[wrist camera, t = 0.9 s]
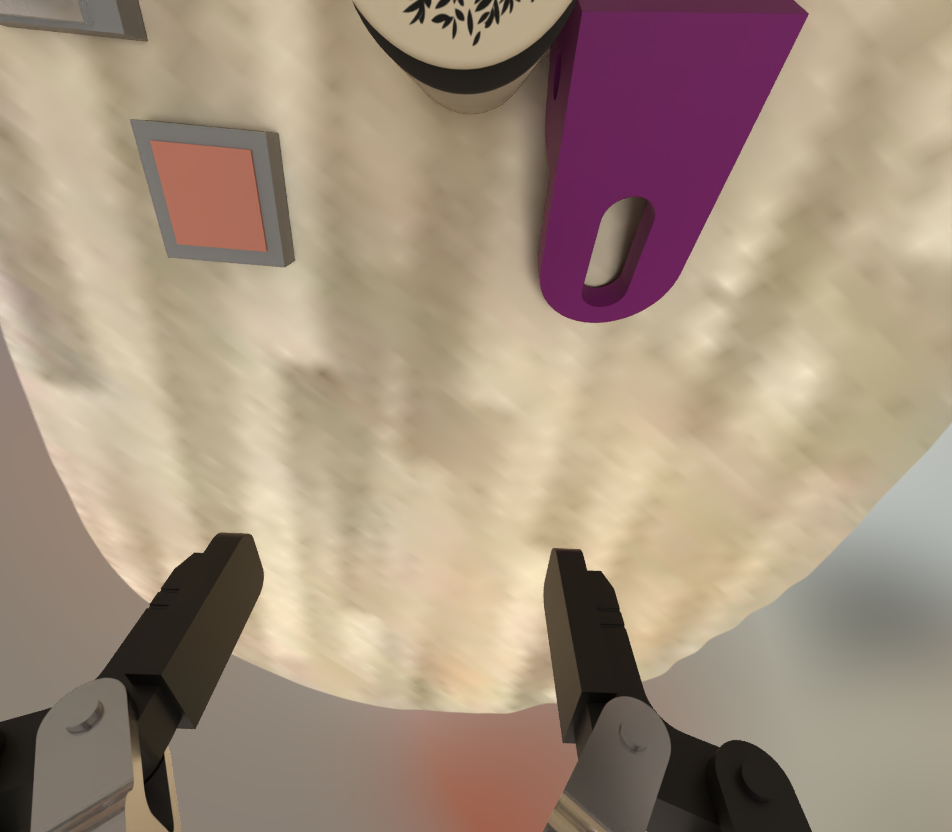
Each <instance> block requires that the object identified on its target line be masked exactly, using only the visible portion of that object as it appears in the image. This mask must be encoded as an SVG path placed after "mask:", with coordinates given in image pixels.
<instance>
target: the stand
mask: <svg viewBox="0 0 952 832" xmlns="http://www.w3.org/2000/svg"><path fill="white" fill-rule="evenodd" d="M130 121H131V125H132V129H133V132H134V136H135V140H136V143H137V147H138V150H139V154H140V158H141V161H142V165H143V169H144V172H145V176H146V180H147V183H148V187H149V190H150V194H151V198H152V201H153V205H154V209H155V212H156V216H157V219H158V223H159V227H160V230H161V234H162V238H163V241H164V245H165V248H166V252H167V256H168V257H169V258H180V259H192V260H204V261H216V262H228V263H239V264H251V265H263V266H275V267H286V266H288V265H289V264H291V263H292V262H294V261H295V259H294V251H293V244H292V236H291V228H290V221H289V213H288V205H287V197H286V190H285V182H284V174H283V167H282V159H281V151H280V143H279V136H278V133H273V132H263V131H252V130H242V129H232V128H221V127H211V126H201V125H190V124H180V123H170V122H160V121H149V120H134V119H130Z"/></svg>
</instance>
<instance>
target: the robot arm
mask: <svg viewBox="0 0 952 832" xmlns="http://www.w3.org/2000/svg"><path fill="white" fill-rule="evenodd" d="M263 580H264V571H263V567H262V564H261V561H260V558H259V555H258V551H257V548H256V545H255V542H254V539H253V537H252V535H251V534H244V533H218V534H217V535H216V536H215V537H214V538H213V539H212V541H211V542H210V544H209V545H208V547H207V548H206V550H205V551H204V553H193V554H192V555H191V556H190V557H188V558H187V559H186V560H185V561H184V562H182V563H181V564H180V565H179V566H178V567H176V568H175V569H174V570H173V572H172V573H171V575H170V576H169V578H168V579H167V580H166V582H165V583H164V585H163V586H162V587H161V591H160V592H158V593H157V595H156V596H155V597H154V599H153V600H152V602H151V603H150V607H149V608H147V609H146V610H145V612H144V613H143V615H142V616H141V617H140V619H139V620H138V622H137V623H136V624H135V626H134V627H133V629H132V630H131V632H130V633H129V634H128V636H127V637H126V639H125V640H124V642H123V643H122V644H121V646H120V647H119V649H118V650H117V652H116V653H115V654H114V656H113V657H112V659H111V660H110V662H109V663H108V664H107V666H106V667H105V669H104V670H103V671H102V672H101V674H100V675H99V676H98V677H97V678H96V679H95V680H93V681H90V682H87V683H85V684H83V685H81V686H79V687H77V688H75V689H74V690H72V691H71V692H69V693H68V694H66V695H65V696H64V697H63V698H61V699H60V700H59V701H58V702H57V703H56V704H55V705H54V706H53V707H52V708H49V709H45V710H42V711H38V712H35V713H31V714H28V715H24V716H20V717H17V718H13V719H10V720H6V721H2V722H0V832H182V830H181V824H180V817H179V810H178V804H177V797H176V790H175V783H174V776H173V770H172V763H171V756H170V751H169V747H168V744H169V742H170V741H171V739H172V737H173V735H174V733H175V731H176V729H177V728H181V729H196V726H197V725H198V723H199V720H200V718H201V716H202V714H203V712H204V710H205V708H206V706H207V704H208V702H209V699H210V697H211V695H212V693H213V691H214V689H215V687H216V685H217V683H218V681H219V679H220V676H221V674H222V672H223V670H224V668H225V666H226V664H227V662H228V660H229V658H230V655H231V654H232V651H233V649H234V647H235V645H236V643H237V641H238V639H239V637H240V635H241V633H242V631H243V628H244V626H245V624H246V622H247V620H248V618H249V616H250V614H251V612H252V610H253V608H254V605H255V603H256V601H257V599H258V597H259V595H260V593H261V590H262V586H263ZM544 609H545V616H546V624H547V631H548V638H549V646H550V653H551V660H552V668H553V675H554V682H555V689H556V697H557V704H558V711H559V718H560V726H561V733H562V741H563V743H576V748H577V755H578V762H577V764H576V766H575V768H574V771H573V773H572V775H571V777H570V779H569V781H568V783H567V785H566V787H565V789H564V791H563V793H562V795H561V797H560V799H559V801H558V803H557V805H556V807H555V809H554V811H553V813H552V815H551V817H550V819H549V821H548V823H547V825H546V827H545V829H544V831H543V832H645V831H647V832H812V831H811V828H810V826H809V824H808V821H807V819H806V817H805V815H804V812H803V810H802V808H801V805H800V803H799V801H798V798H797V796H796V794H795V791H794V789H793V787H792V785H791V783H790V781H789V779H788V777H787V776H786V774H785V772H784V771H783V770H782V768H781V767H780V766H779V765H778V763H777V762H776V761H775V760H774V759H773V758H772V757H771V756H770V755H768V754H767V753H766V752H765V751H763V750H762V749H760V748H759V747H757V746H755V745H753V744H751V743H748V742H745V741H741V740H732V741H728V742H726V743H724V744H723V745H722V746H721V747H717V746H715V745H712V744H710V743H707V742H705V741H702V740H699V739H697V738H695V737H692V736H690V735H687V734H685V733H682V732H681V731H678V730H677V729H675V728H673V727H672V726H670V725H669V724H668V723H667V722H665V721H664V720H663V719H662V718H661V717H660V716H659V715H658V714H657V712H656V711H655V710H654V709H653V707H652V706H651V704H650V703H649V701H648V699H647V697H646V694H645V692H644V689H643V685H642V682H641V679H640V675H639V672H638V668H637V665H636V662H635V658H634V655H633V652H632V648H631V645H630V641H629V638H628V635H627V631H626V629H625V628H624V621H623V618H622V614H621V612H620V608H619V604H618V601H617V597H616V594H615V591H614V588H613V587H612V585H611V584H610V583H609V581H608V580H607V579H606V577H605V576H604V574H603V573H602V572H601V571H587V568H586V564H585V560H584V556H583V553H582V551H581V550H580V549H563V548H553V549H552V551H551V555H550V560H549V564H548V569H547V573H546V578H545V583H544Z"/></svg>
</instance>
